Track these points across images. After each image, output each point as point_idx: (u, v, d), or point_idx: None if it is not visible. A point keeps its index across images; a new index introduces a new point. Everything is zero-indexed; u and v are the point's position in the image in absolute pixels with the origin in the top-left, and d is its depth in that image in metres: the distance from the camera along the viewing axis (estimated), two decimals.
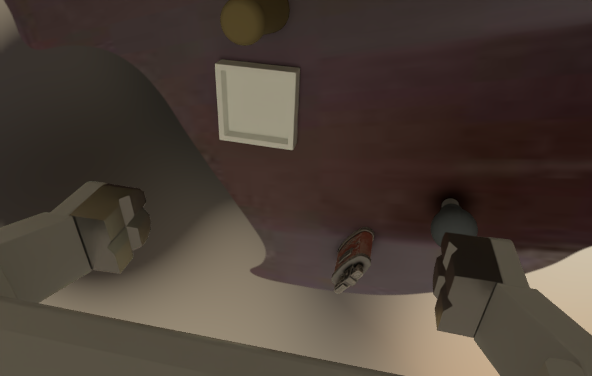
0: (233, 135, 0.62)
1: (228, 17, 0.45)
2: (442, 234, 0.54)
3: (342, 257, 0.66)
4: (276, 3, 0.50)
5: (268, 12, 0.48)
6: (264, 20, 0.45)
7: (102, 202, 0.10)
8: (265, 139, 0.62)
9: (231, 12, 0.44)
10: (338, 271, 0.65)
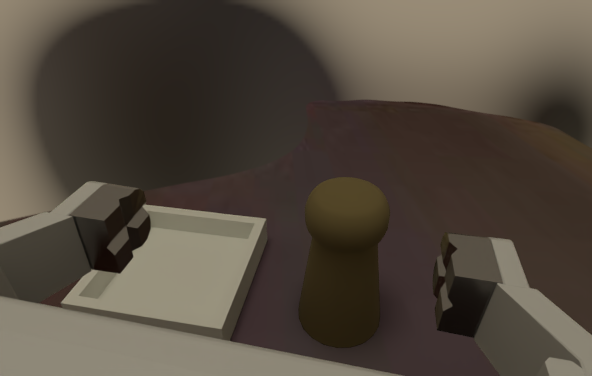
0: None
1: (359, 182, 0.25)
2: None
3: None
4: (358, 307, 0.27)
5: (351, 273, 0.25)
6: (348, 238, 0.23)
7: (102, 202, 0.10)
8: None
9: (367, 186, 0.25)
10: None
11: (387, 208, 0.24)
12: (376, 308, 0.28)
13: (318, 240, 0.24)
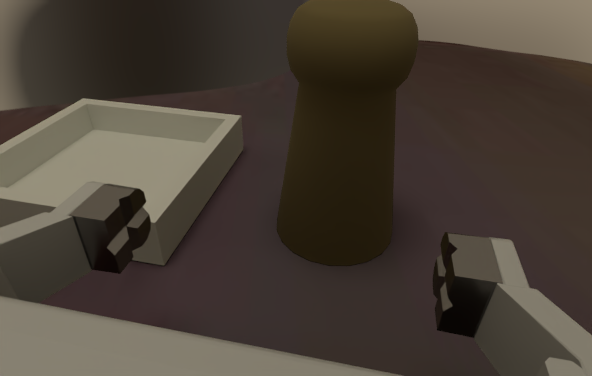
0: (74, 117, 0.27)
1: None
2: None
3: None
4: (362, 199, 0.18)
5: (354, 135, 0.16)
6: (353, 57, 0.14)
7: (102, 202, 0.10)
8: (17, 153, 0.23)
9: None
10: None
11: (415, 26, 0.15)
12: (388, 210, 0.19)
13: (305, 73, 0.15)
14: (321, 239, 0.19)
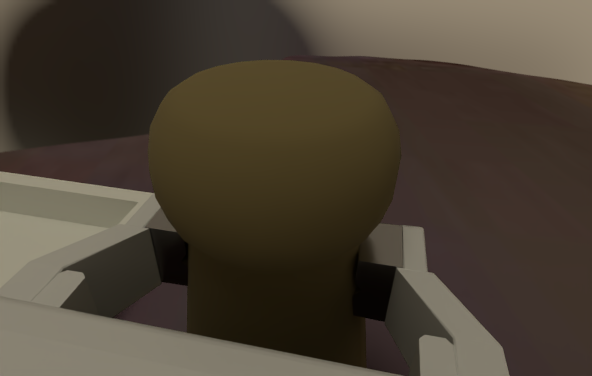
0: None
1: (314, 65, 0.09)
2: None
3: None
4: None
5: (282, 328, 0.09)
6: (257, 219, 0.07)
7: None
8: None
9: (337, 73, 0.08)
10: None
11: (394, 133, 0.08)
12: None
13: (175, 227, 0.08)
14: None
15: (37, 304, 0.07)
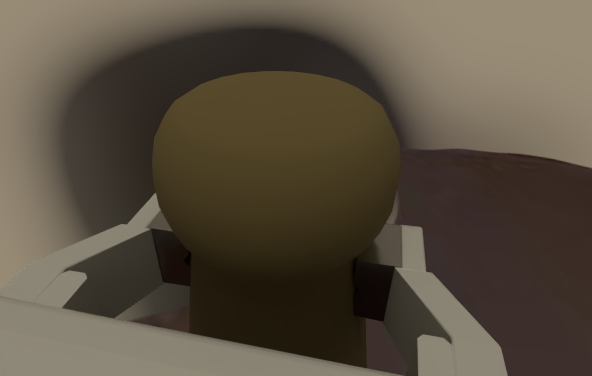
0: None
1: (316, 77, 0.09)
2: None
3: None
4: None
5: (282, 337, 0.09)
6: (257, 230, 0.07)
7: None
8: None
9: (338, 85, 0.08)
10: None
11: (394, 146, 0.08)
12: None
13: (178, 236, 0.08)
14: None
15: (37, 304, 0.07)
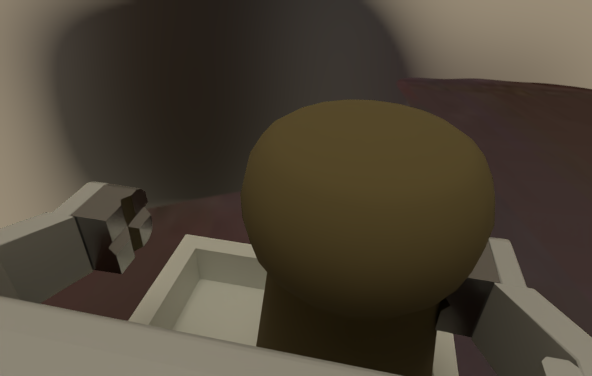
0: (183, 276, 0.17)
1: (402, 109, 0.09)
2: None
3: None
4: None
5: None
6: (367, 275, 0.07)
7: (104, 202, 0.10)
8: None
9: (428, 119, 0.08)
10: None
11: (492, 183, 0.08)
12: None
13: (271, 272, 0.08)
14: None
15: (37, 304, 0.07)
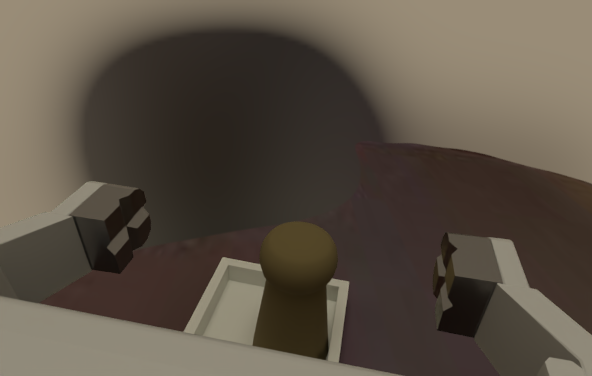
0: (222, 278, 0.36)
1: (312, 229, 0.27)
2: None
3: None
4: (303, 344, 0.28)
5: (297, 312, 0.27)
6: (293, 282, 0.25)
7: (102, 202, 0.10)
8: (200, 326, 0.31)
9: (319, 234, 0.27)
10: None
11: (334, 256, 0.26)
12: (322, 345, 0.30)
13: (268, 280, 0.26)
14: None
15: (37, 304, 0.07)
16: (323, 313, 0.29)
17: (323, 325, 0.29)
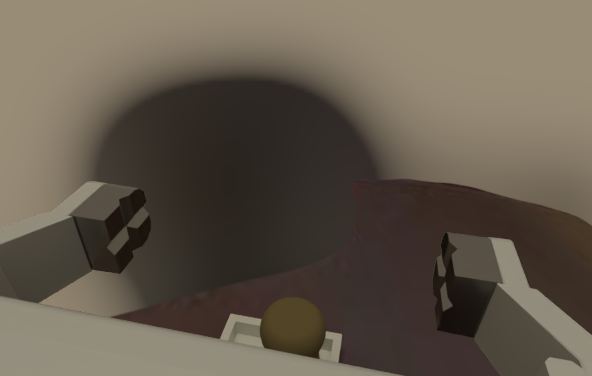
0: (231, 335, 0.41)
1: (303, 305, 0.32)
2: None
3: None
4: None
5: None
6: None
7: (102, 202, 0.10)
8: None
9: (309, 311, 0.32)
10: None
11: (322, 331, 0.31)
12: None
13: None
14: None
15: (37, 304, 0.07)
16: None
17: None
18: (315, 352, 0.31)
